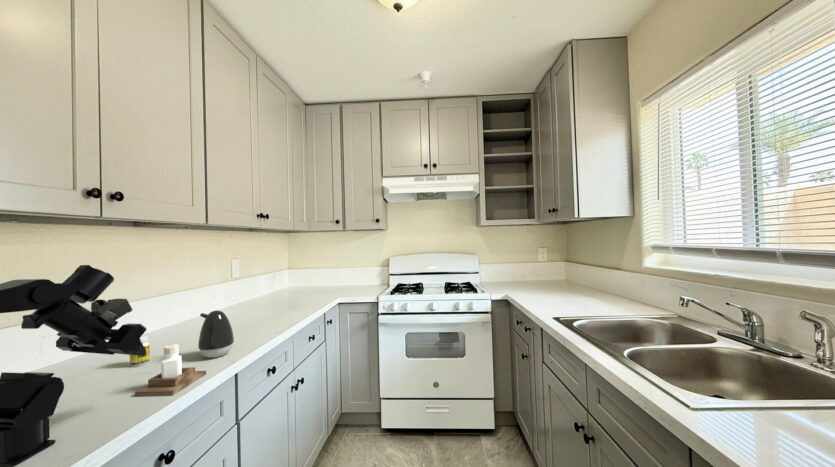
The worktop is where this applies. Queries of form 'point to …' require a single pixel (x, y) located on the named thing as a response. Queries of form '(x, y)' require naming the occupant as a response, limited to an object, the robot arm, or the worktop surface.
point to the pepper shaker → (171, 362)
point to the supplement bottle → (141, 360)
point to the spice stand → (170, 383)
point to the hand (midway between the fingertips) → (129, 353)
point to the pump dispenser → (215, 335)
